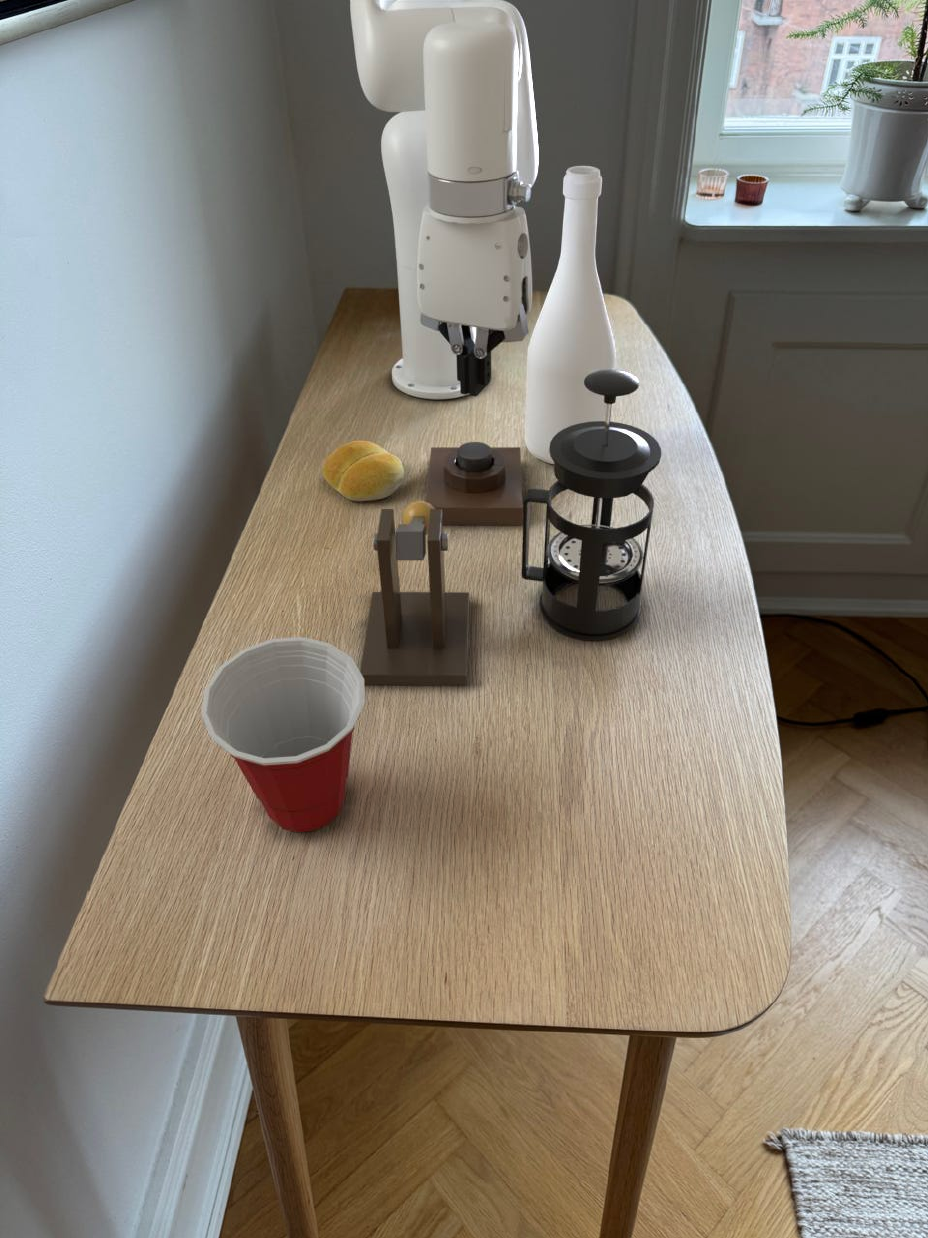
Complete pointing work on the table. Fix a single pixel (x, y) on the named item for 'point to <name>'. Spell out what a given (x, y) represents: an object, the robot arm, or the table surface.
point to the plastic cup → (288, 725)
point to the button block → (476, 488)
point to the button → (474, 457)
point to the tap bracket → (415, 618)
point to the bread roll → (363, 471)
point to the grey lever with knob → (413, 532)
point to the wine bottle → (569, 326)
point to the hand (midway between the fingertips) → (474, 389)
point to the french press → (595, 519)
